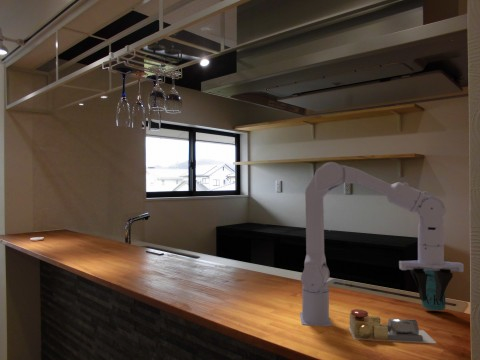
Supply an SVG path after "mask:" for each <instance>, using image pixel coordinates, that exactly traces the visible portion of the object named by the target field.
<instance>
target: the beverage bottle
mask: <svg viewBox="0 0 480 360" xmlns="http://www.w3.org/2000/svg"><path fill="white" fill-rule="evenodd" d="M444 261H445V262H446V260H445V259H444ZM424 268H426V267H424ZM424 271H425V274H427V275H428V276H427V282H426V301H423V300H421V302H420V303H421V305H422V307H423V308H424V309H427V310H430V311H438V312H441V311H445V309H446V306H447V300H446V294H447V293H446V292H445V293H444V296H443V300H442V301H439V300H437V299H436V282H435V274H434V270H424Z"/></svg>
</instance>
